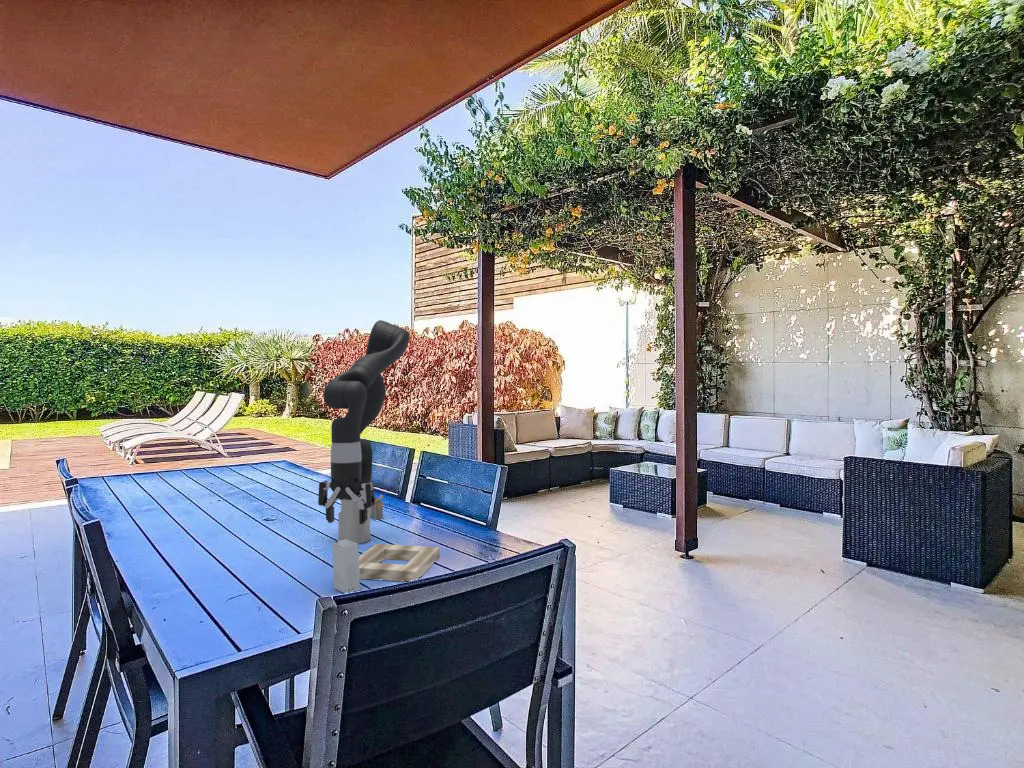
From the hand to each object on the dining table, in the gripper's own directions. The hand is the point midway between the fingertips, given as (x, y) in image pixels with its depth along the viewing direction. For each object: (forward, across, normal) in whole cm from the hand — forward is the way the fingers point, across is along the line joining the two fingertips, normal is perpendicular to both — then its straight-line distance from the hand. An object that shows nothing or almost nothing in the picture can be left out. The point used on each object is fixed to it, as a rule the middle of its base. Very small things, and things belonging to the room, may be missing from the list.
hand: (346, 522), depth 147 cm
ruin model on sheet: (+18, -22, +69) cm, 74 cm away
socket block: (+17, +6, +18) cm, 25 cm away
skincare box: (+17, 0, 0) cm, 17 cm away
